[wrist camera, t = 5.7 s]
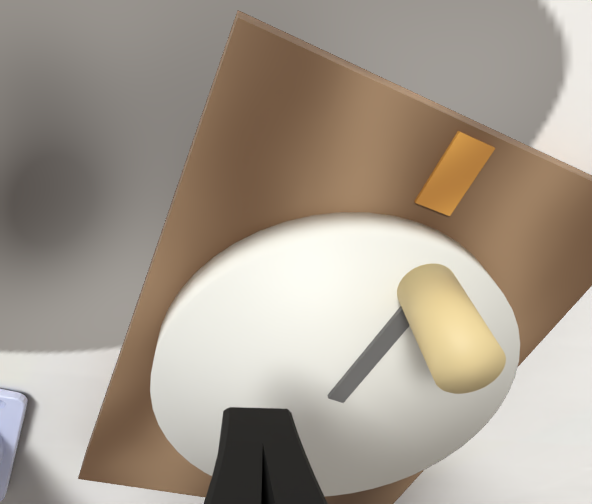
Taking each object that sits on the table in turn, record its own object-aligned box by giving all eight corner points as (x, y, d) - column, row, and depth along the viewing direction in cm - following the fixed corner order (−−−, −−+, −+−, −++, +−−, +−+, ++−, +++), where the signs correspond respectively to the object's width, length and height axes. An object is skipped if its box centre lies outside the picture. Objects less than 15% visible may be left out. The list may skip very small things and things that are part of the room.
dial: (375, 490, 25) (403, 603, 21) (106, 425, 20) (71, 554, 16) (574, 298, 19) (670, 401, 15) (257, 141, 14) (266, 226, 10)
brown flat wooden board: (86, 449, 24) (77, 481, 22) (237, 10, 14) (237, 18, 13) (370, 496, 28) (376, 524, 27) (630, 193, 19) (661, 213, 17)
